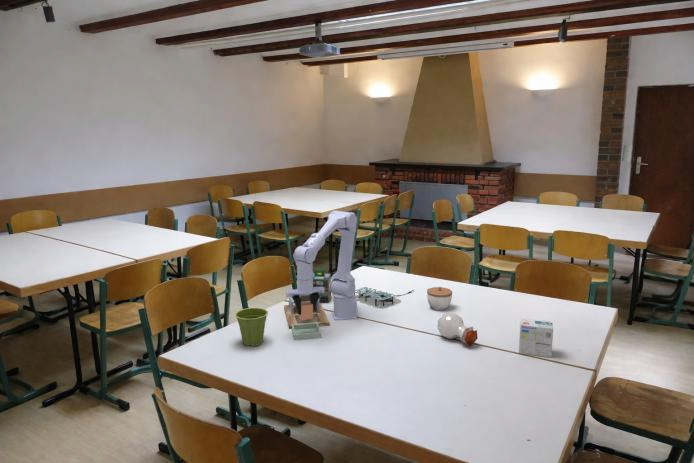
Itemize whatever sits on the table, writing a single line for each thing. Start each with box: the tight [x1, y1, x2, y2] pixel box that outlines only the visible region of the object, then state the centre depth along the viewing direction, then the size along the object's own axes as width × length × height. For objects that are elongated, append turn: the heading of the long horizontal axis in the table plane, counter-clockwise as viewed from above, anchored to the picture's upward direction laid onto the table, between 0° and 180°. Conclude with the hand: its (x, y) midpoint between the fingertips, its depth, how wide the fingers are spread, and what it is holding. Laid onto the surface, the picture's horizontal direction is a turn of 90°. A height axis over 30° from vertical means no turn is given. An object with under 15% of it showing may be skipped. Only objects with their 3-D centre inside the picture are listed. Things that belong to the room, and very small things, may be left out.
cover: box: [288, 294, 320, 314], centre depth 210 cm, size 12×10×8 cm
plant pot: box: [234, 307, 269, 347], centre depth 181 cm, size 12×12×11 cm
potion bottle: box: [437, 312, 479, 347], centre depth 183 cm, size 10×10×15 cm
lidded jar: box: [426, 286, 453, 311], centre depth 215 cm, size 11×11×9 cm
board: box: [283, 303, 330, 330], centre depth 206 cm, size 16×24×2 cm
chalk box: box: [313, 268, 332, 304], centre depth 225 cm, size 9×9×15 cm
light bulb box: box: [518, 317, 554, 358], centre depth 172 cm, size 11×7×11 cm, turn 71°
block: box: [298, 301, 313, 320], centre depth 187 cm, size 4×4×6 cm
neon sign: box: [353, 286, 415, 309], centre depth 231 cm, size 21×4×29 cm
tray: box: [291, 323, 322, 341], centre depth 189 cm, size 10×10×2 cm
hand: (305, 312), depth 187 cm, fingers closed on block, 4 cm apart
